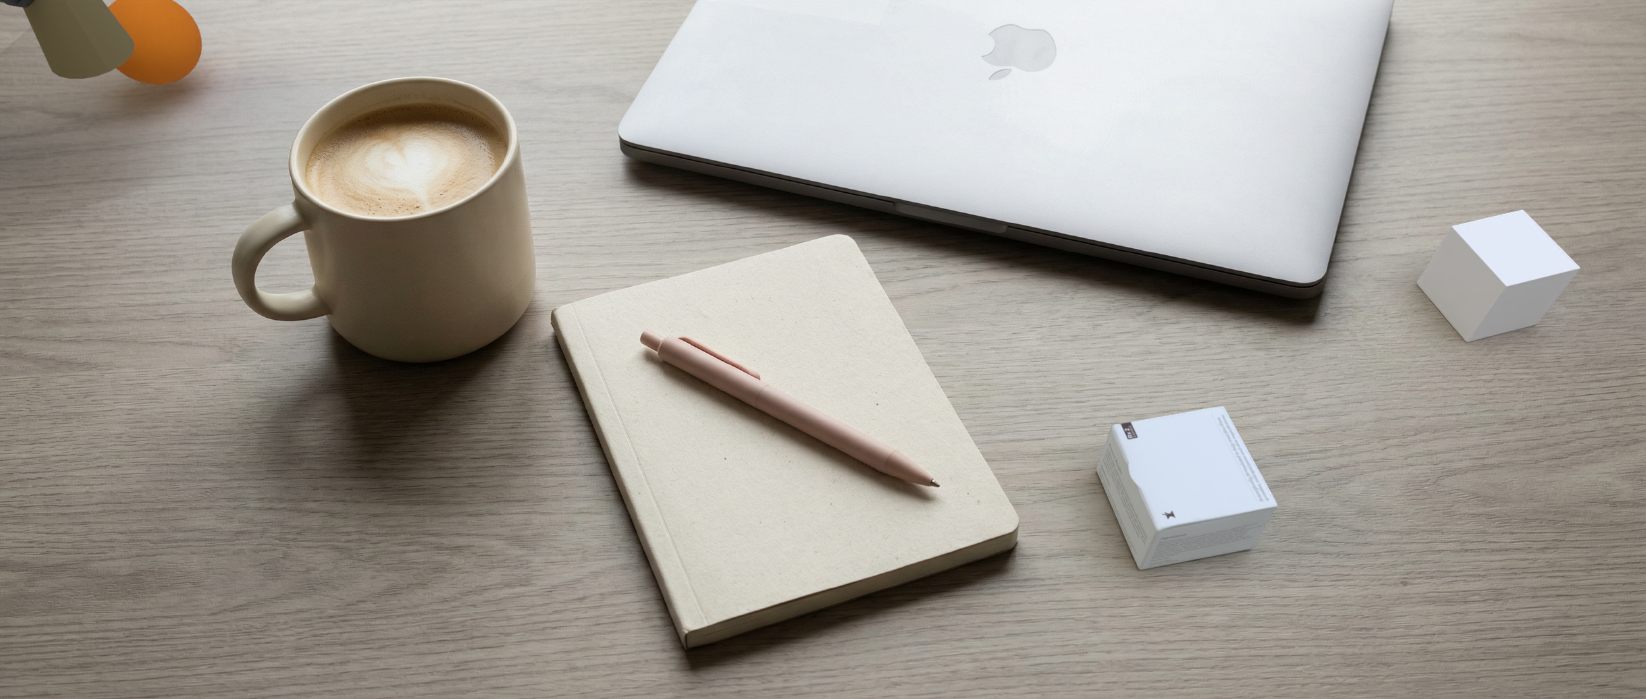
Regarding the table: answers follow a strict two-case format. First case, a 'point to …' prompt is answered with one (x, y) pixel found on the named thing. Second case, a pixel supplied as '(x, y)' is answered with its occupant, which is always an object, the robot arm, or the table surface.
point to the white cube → (1496, 275)
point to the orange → (158, 40)
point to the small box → (1184, 487)
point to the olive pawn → (79, 37)
